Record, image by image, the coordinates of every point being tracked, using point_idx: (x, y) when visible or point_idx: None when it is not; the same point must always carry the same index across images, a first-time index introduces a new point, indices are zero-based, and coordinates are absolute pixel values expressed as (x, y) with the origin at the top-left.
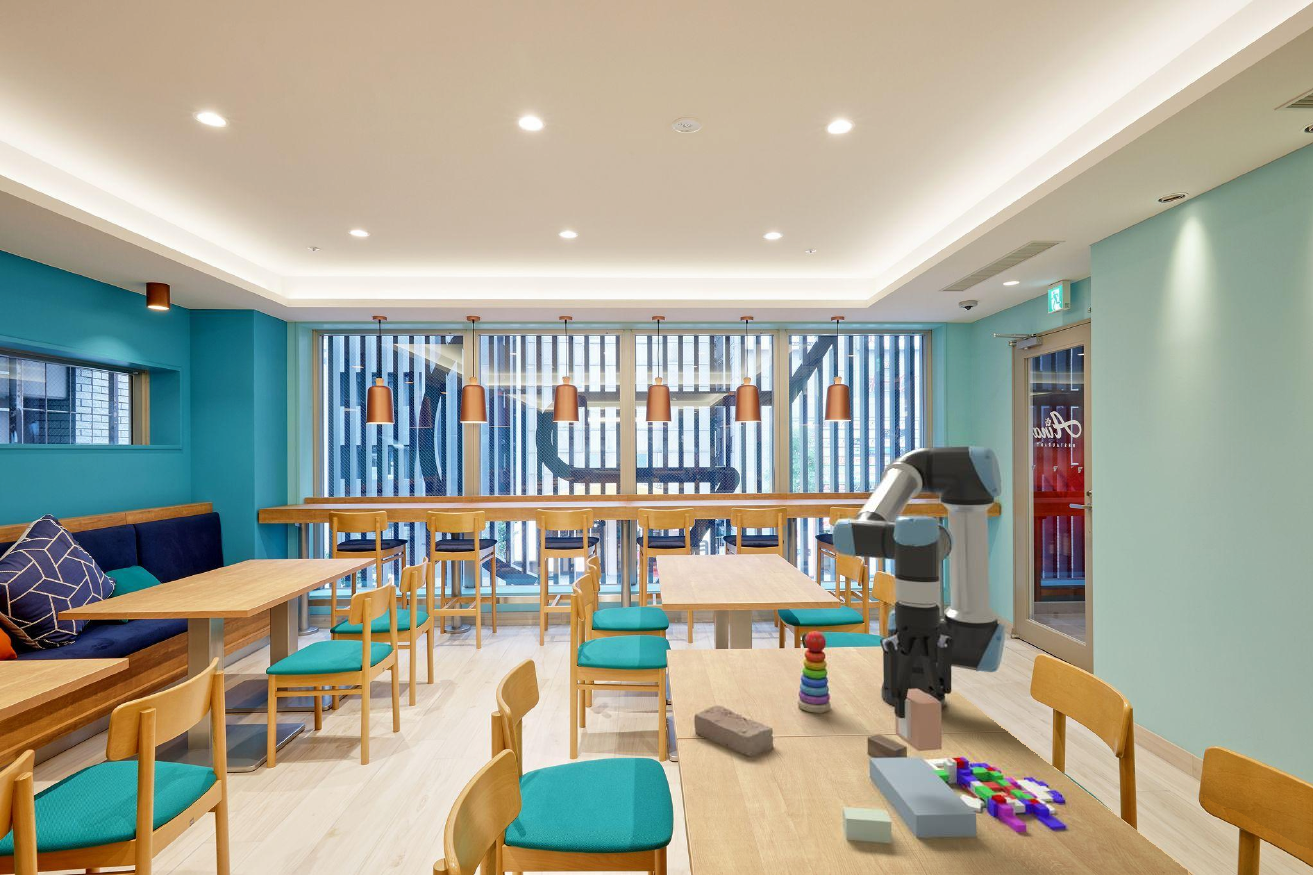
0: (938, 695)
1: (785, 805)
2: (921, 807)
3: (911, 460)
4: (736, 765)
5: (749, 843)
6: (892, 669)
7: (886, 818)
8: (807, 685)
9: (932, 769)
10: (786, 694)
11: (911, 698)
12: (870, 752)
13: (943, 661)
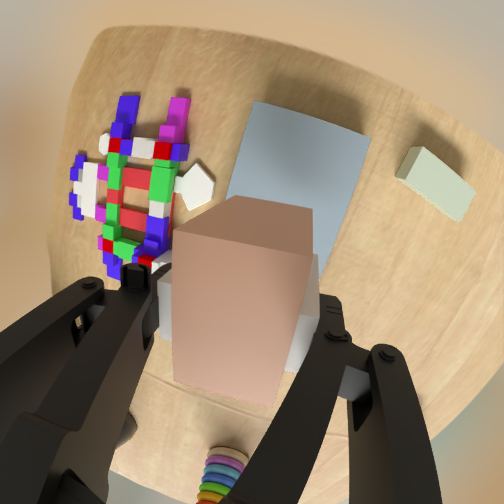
0: (141, 288)
1: (467, 295)
2: (341, 154)
3: None
4: (436, 393)
5: None
6: (423, 469)
7: (423, 158)
8: (235, 481)
9: None
10: None
11: (282, 325)
12: None
13: (8, 378)
